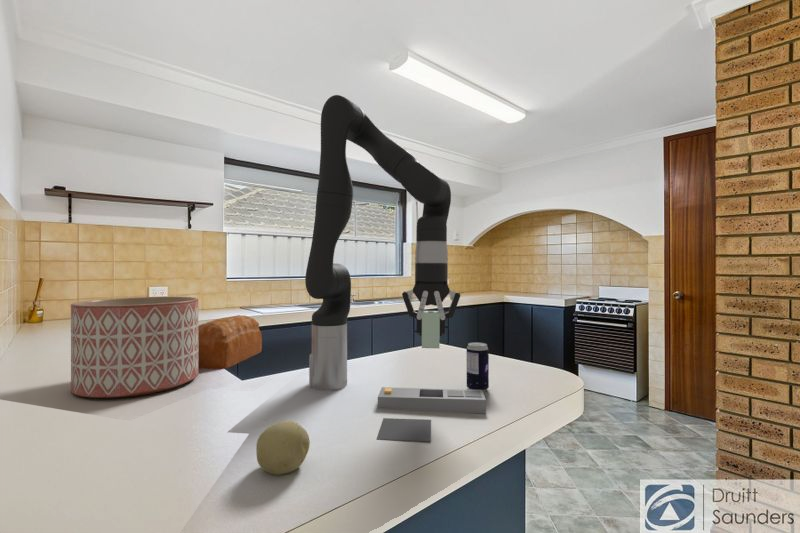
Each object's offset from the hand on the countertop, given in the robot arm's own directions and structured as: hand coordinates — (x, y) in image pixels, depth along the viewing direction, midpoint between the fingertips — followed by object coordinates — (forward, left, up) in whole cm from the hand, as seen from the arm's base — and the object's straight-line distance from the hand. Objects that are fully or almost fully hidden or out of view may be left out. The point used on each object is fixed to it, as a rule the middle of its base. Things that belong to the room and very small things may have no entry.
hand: (430, 335), depth 90 cm
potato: (-23, -31, -17) cm, 42 cm away
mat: (-5, -14, -16) cm, 22 cm away
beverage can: (+12, +13, -17) cm, 24 cm away
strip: (0, 0, -16) cm, 16 cm away
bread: (-68, +34, -17) cm, 78 cm away
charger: (0, 0, -3) cm, 3 cm away
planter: (-76, +5, -17) cm, 78 cm away
